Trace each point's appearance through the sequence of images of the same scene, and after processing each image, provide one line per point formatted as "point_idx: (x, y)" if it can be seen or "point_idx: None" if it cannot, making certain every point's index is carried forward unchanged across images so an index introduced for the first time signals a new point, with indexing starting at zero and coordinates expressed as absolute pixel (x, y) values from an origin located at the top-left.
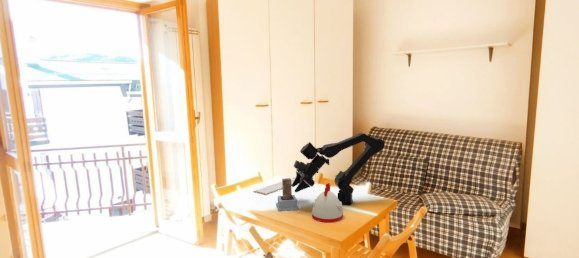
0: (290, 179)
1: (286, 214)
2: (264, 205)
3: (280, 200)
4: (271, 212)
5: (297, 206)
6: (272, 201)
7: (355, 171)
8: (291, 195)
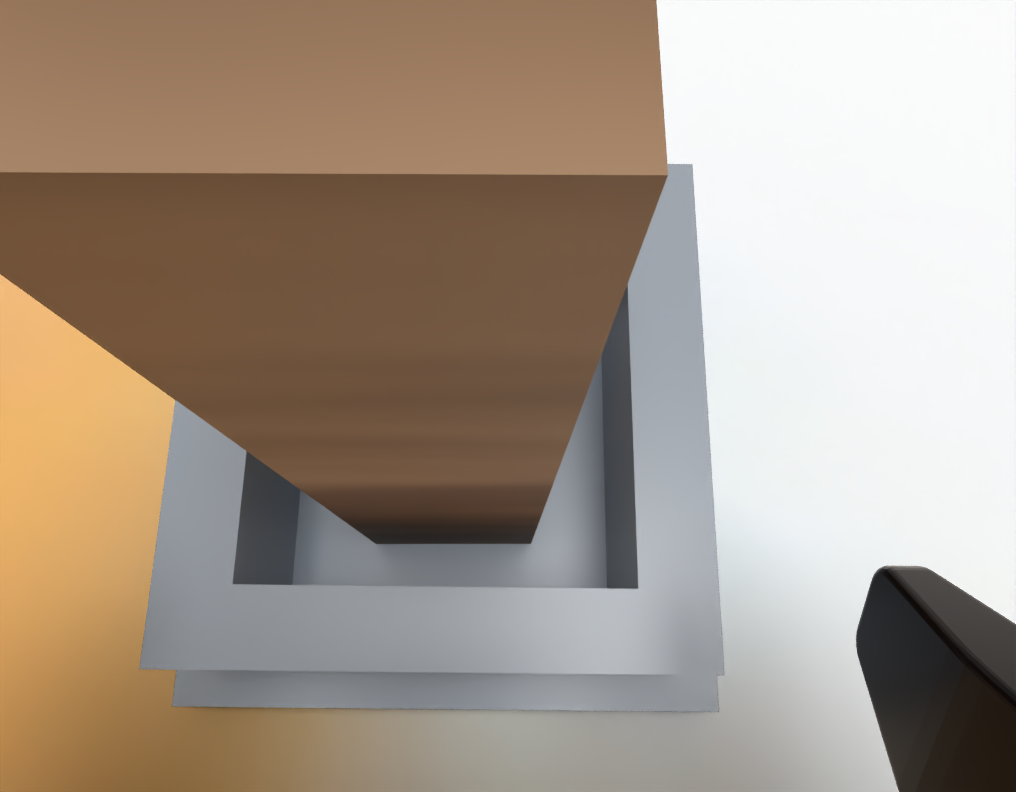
0: (15, 106)
1: (14, 366)
2: None
3: None
4: None
5: (274, 679)
6: (882, 193)
7: None
8: (321, 498)
